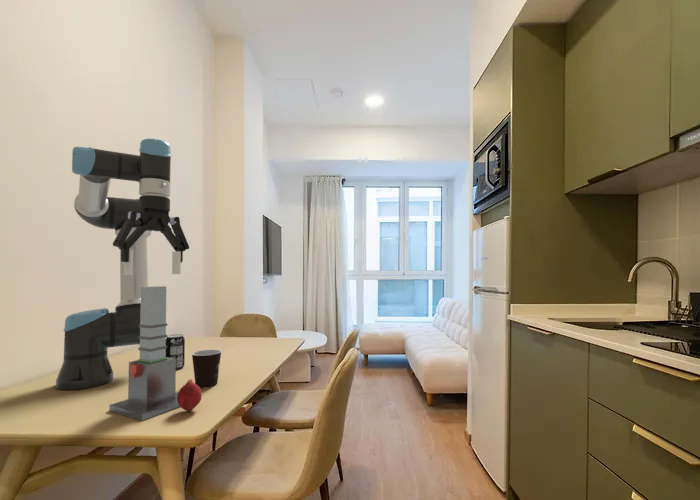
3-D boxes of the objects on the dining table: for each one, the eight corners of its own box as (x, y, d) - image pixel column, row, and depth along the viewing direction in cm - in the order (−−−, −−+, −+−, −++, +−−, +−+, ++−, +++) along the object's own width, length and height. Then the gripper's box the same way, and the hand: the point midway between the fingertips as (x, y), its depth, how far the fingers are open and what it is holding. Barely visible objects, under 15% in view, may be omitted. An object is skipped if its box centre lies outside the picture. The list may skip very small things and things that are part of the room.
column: (137, 370, 98) (139, 287, 99) (155, 366, 102) (156, 286, 103) (149, 373, 95) (150, 287, 96) (166, 368, 99) (167, 286, 101)
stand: (109, 410, 95) (110, 363, 96) (160, 394, 107) (160, 352, 108) (141, 420, 88) (142, 369, 89) (192, 402, 101) (192, 357, 101)
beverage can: (171, 365, 141) (172, 334, 141) (188, 366, 140) (188, 334, 140) (160, 370, 134) (161, 337, 135) (177, 370, 133) (177, 337, 134)
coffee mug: (211, 389, 111) (211, 356, 112) (185, 388, 113) (185, 355, 113) (231, 378, 123) (231, 348, 123) (207, 377, 124) (207, 347, 125)
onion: (200, 414, 92) (200, 381, 92) (175, 417, 90) (175, 383, 91) (202, 406, 98) (202, 375, 98) (178, 408, 96) (179, 377, 96)
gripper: (115, 186, 89) (113, 275, 87) (202, 202, 110) (201, 273, 109) (98, 190, 92) (96, 275, 91) (185, 204, 114) (185, 273, 113)
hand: (153, 274), depth 100 cm, fingers open, 13 cm apart
